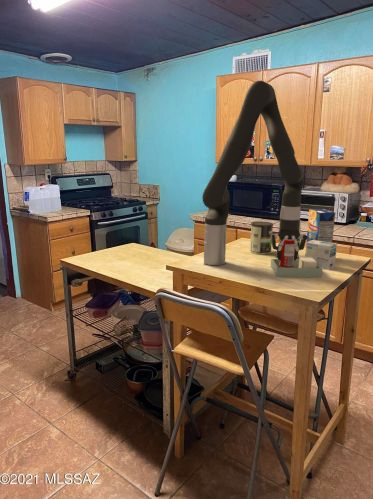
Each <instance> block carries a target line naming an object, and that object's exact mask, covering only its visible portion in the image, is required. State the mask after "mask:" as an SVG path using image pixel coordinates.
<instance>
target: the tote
mask: <svg viewBox="0 0 373 499" xmlns="http://www.w3.org/2000/svg"><path fill="white" fill-rule="evenodd" d="M279 263H280V260H278V259H277V258H270V268H271V270H272V271H273V273H274V275H275V277H277V278H278V277H279V278H281V277H282V278H284V277H285V278H287V277H288V278H322V274H323V273H322V272H323V269H322V268H321V267H320V266H319V265H318V264H317V268H299V258H298V259H296V260H294V267H293V268H281V267H280V266H279Z"/></svg>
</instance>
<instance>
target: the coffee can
mask: <svg viewBox="0 0 373 499" xmlns="http://www.w3.org/2000/svg"><path fill="white" fill-rule="evenodd" d="M250 225H251V227H250V229H251V230H250V248H249V252H250V253H251V254H255V255H269V254H272V248H273V247H272V241H271V234H272V233H273V229H274V228H273V227H274V223H273V222H270V221H261V220H260V221H253V222H250Z"/></svg>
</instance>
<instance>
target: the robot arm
mask: <svg viewBox="0 0 373 499" xmlns="http://www.w3.org/2000/svg"><path fill="white" fill-rule="evenodd" d="M260 116H262V118H263V121H264V122H265V127H266V131H267V134H268V135H267V136H268V140H269V143H270V146H271V148H272V150H273V154H274V156H275V158H276V160H277V164H278V169H279V172H280V174H281V177H282V180H283V181H284V190H283V192H282V195H281V196H282V198H281V208H280V214H279V228H278V232H277V233H273V232H272V234H271V241H272V247H271V248H272V249H273V250H275V251H276V256H275V257H276V259H278V260H281V249H282V246H283V243H284V241H285V239H288V240H292V239H294V242H295V255H294V260H296V259H299V252H300V251H303V250H304V248H305V247H306V242H307V234H305V233H299V227H300V221H301V207H302V206H301V204H302V190H303V185H304V180H305V179H304V178H305V171H304V169H303V167H302V166H301V165H299V164H298V161H297V158H296V156H295V154H296V153H295V149H294V146H293V143H292V141H291V138H290V136H289V134H288V132H287V129H286V127H285V125H284V121H283V119H282V116H281V113H280V109H279V105H278V101H277V95H276V91H275V88H274V86H272V85H271V84H270V83H268V82H266V81H264V80H256V81H254V82H253V83H251V84H250V85H249V87H248V88H247V90H246V93H245V96H244V99H243V103H242V106H241V108H240V112H239V114H238V117H237V119H236V121H235V123H234V125H233V128H232V130H231V131H230V134H229V136H228V138H227V140H226V142H225V145H224V147H223V150H222V152H221V155H220V157H219V160H218V162H217V164H216V167H215V170H214V171H213V174H212V176H211V178H210V179H209V180H208V181H209V182H208V183H207V185H206V186H205V188H204V190H203V192H202V198H201V199H202V202H203V204H204V206H205V207H206V208H208V211H207V213H206V215H205V216H204V236H203V237H204V240H203V241H204V242H203V265H209V266H221V265H224V264H226V252H227V245H226V244H227V221H228V218H229V212H230V191H229V190H228V185H229V183H230V181H231V179H232V178H233V176H234V175H235V174H236V172H238V170H239V169H240V168H241V166H242V165H243V163H244V162H245V159H246V158H247V155H248V153H249V151H250V148H251V146H252V142H253V138H254V133H255V132H254V131H255V129H256V125H257V121H258V120H259V118H260ZM299 237H300V245H299V246H298V245H297V242H296V240H297V239H298V238H299ZM279 238H280V239H281V240H280V242H279V241H278V244H277V242H276V240H277V239H279ZM281 241H282V242H281Z"/></svg>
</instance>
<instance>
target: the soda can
mask: <svg viewBox="0 0 373 499" xmlns="http://www.w3.org/2000/svg"><path fill="white" fill-rule="evenodd" d="M281 242H282V241H281ZM294 255H295V242H294V239H292V240H288V239H285V241H284V243H283V246H282V249H281V260H280V263H279V266H280V267H281V268H293V267H294Z"/></svg>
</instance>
